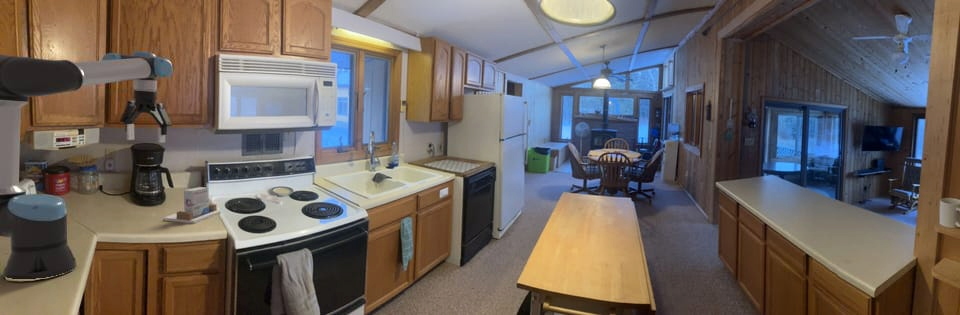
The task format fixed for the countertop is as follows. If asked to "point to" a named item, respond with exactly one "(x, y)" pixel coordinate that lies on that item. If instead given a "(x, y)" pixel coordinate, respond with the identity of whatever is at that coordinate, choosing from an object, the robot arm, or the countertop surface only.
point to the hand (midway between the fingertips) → (146, 141)
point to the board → (173, 217)
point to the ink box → (196, 201)
